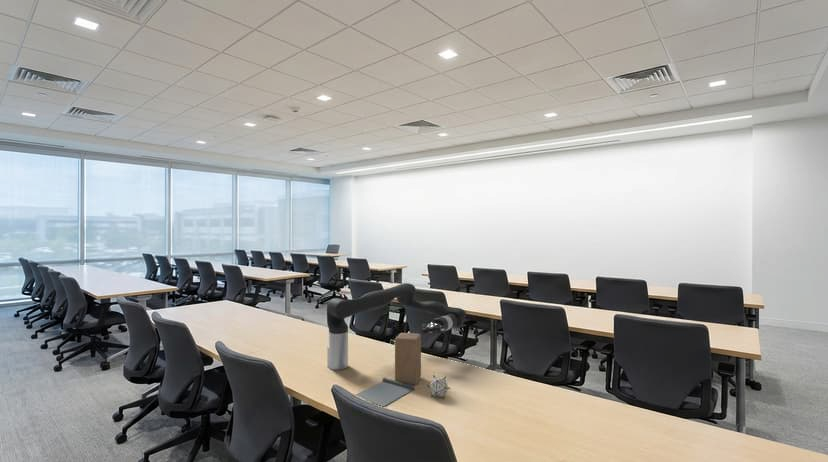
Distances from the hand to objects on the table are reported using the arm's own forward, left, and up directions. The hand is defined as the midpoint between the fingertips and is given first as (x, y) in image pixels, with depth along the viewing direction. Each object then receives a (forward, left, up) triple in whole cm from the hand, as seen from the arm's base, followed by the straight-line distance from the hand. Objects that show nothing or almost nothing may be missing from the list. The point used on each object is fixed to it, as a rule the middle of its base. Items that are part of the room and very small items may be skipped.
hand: (423, 331), depth 181 cm
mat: (0, -29, -19) cm, 35 cm away
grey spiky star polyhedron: (+20, -19, -19) cm, 34 cm away
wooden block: (0, -12, -19) cm, 23 cm away
